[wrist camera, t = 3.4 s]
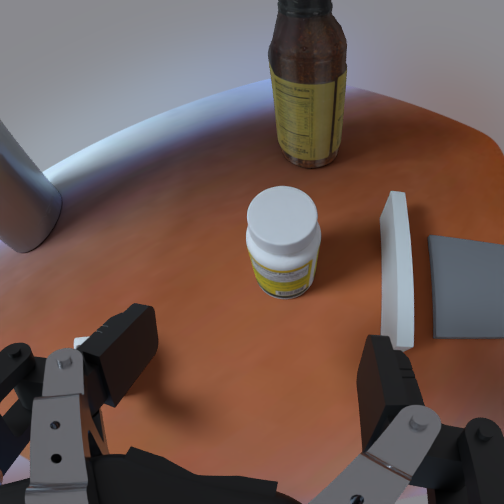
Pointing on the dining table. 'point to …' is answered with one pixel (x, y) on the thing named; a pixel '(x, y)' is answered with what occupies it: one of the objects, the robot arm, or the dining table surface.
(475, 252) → the coaster
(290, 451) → the dining table surface
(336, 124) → the sauce bottle
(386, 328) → the wall
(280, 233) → the supplement bottle
